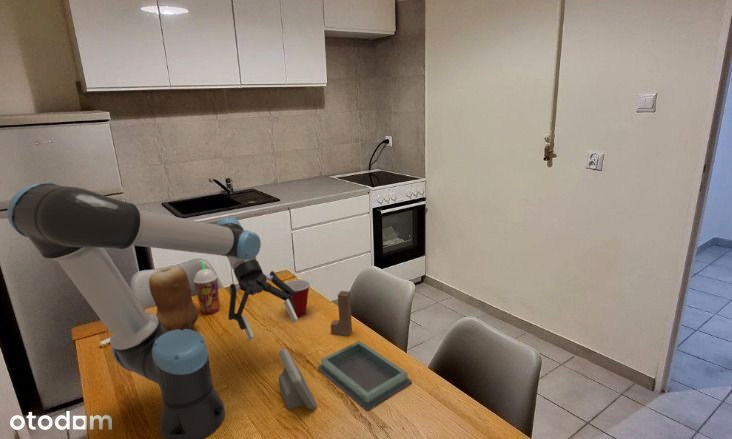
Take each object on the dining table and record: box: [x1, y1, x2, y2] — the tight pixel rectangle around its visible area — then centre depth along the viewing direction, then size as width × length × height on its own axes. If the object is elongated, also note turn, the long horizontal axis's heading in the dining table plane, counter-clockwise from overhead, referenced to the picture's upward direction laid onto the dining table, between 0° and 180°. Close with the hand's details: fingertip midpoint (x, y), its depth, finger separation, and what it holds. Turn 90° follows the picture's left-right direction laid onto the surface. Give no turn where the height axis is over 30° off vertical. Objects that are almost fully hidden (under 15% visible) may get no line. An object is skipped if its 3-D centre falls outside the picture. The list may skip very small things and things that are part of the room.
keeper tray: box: [317, 340, 413, 412], centre depth 121 cm, size 16×23×4 cm
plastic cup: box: [284, 279, 311, 318], centre depth 157 cm, size 11×11×12 cm
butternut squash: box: [148, 265, 199, 332], centre depth 143 cm, size 14×13×25 cm
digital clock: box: [278, 348, 317, 410], centre depth 114 cm, size 16×9×11 cm, turn 14°
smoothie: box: [193, 261, 220, 315], centre depth 160 cm, size 8×8×20 cm
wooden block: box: [330, 290, 353, 337], centre depth 142 cm, size 7×3×15 cm, turn 74°
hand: (274, 329), depth 119 cm, fingers open, 13 cm apart
